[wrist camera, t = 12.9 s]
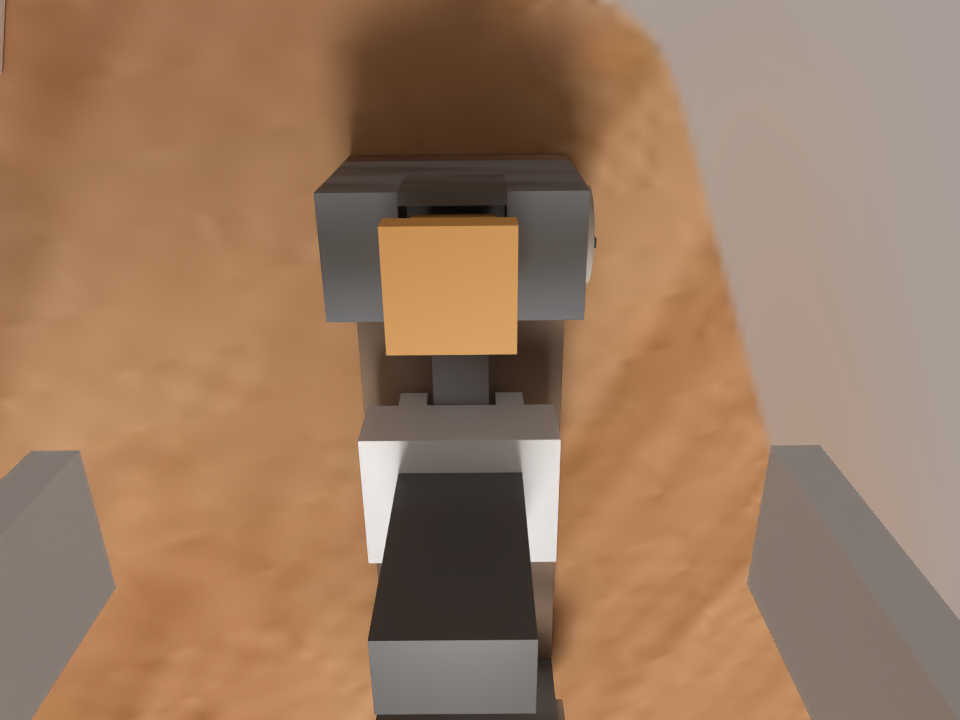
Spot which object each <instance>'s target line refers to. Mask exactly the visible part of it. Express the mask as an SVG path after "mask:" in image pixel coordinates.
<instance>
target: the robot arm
mask: <svg viewBox="0 0 960 720" xmlns="http://www.w3.org/2000/svg"><path fill="white" fill-rule="evenodd" d="M747 585H748V587H749V589H750V591H751V593H752V595H753V597H754V599H755V601H756V604H757V606H758V608H759V610H760V612H761V614H762V616H763V618H764V620H765V623H766V625H767V627H768V629H769V631H770V633H771V635H772V637H773V639H774V642H775V644H776V646H777V648H778V650H779V652H780V654H781V656H782V658H783V661H784V663H785V665H786V667H787V669H788V671H789V673H790V675H791V677H792V680H793V682H794V684H795V686H796V688H797V690H798V692H799V694H800V696H801V699H802V701H803V703H804V705H805V707H806V709H807V711H808V713H809V715H810V718H811V720H960V620H959V619H958V618H957V616H956V615H955V614H954V613H953V611H952V610H951V609H950V608H949V607H948V605H947V604H946V603H945V601H944V600H943V599H942V598H941V596H940V595H939V594H938V593H937V591H936V590H935V589H934V588H933V586H932V585H931V584H930V583H929V581H928V580H927V579H926V578H925V576H924V575H923V574H922V573H921V571H920V570H919V569H918V568H917V566H916V565H915V564H914V563H913V561H912V560H911V559H910V558H909V556H908V555H907V554H906V553H905V551H904V550H903V549H902V548H901V546H900V545H899V544H898V543H897V541H896V540H895V539H894V538H893V536H892V535H891V534H890V533H889V531H888V530H887V529H886V528H885V526H884V525H883V524H882V523H881V521H880V520H879V519H878V518H877V516H876V515H875V514H874V513H873V511H872V510H871V509H870V508H869V506H868V505H867V504H866V503H865V501H864V500H863V499H862V498H861V496H860V495H859V494H858V492H857V491H856V490H855V489H854V488H853V486H852V485H851V484H850V483H849V481H848V480H847V479H846V477H845V476H844V475H843V474H842V472H841V471H840V470H839V469H838V468H837V466H836V465H835V464H834V462H833V461H832V460H831V459H830V458H829V456H828V455H827V454H826V452H825V451H824V450H823V449H822V447H821V446H819V445H804V446H803V445H802V446H801V445H799V446H796V445H795V446H771V449H770V455H769V461H768V467H767V472H766V478H765V484H764V490H763V495H762V501H761V507H760V513H759V518H758V524H757V530H756V536H755V541H754V547H753V553H752V559H751V564H750V570H749V576H748V582H747ZM115 588H116V587H115V583H114V579H113V576H112V572H111V568H110V564H109V560H108V557H107V553H106V549H105V545H104V541H103V538H102V534H101V530H100V526H99V522H98V519H97V515H96V511H95V507H94V503H93V500H92V496H91V492H90V488H89V484H88V481H87V477H86V473H85V469H84V465H83V462H82V458H81V454H80V451H31V452H30V453H29V454H28V455H26V456H25V457H24V458H23V459H22V460H21V461H20V462H19V463H18V464H17V465H16V466H15V467H14V468H13V469H12V470H11V471H10V472H9V473H8V474H7V475H6V476H5V477H4V478H2V479H1V480H0V720H31V719H32V717H33V716H34V714H35V712H36V711H37V709H38V708H39V706H40V705H41V703H42V702H43V700H44V698H45V697H46V695H47V694H48V692H49V691H50V689H51V688H52V686H53V684H54V683H55V681H56V680H57V678H58V677H59V675H60V674H61V672H62V670H63V669H64V667H65V666H66V664H67V663H68V661H69V660H70V658H71V656H72V655H73V653H74V652H75V650H76V649H77V647H78V646H79V644H80V642H81V641H82V639H83V638H84V636H85V635H86V633H87V632H88V630H89V628H90V627H91V625H92V624H93V622H94V621H95V619H96V618H97V616H98V615H99V613H100V611H101V610H102V608H103V607H104V605H105V604H106V602H107V601H108V599H109V597H110V596H111V594H112V593H113V591H114V590H115Z"/></svg>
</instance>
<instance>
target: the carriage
mask: <svg viewBox="0 0 960 720" xmlns="http://www.w3.org/2000/svg"><path fill="white" fill-rule="evenodd" d="M358 447H359V459H360V470H361V481H362V493H363V504H364V515H365V527H366V538H367V550H368V561H369V563H382V565H381V571H380V576H379V582H378V587H377V593H376V598H375V604H374V609H373V615H372V620H371V626H370V632H369V637H368V649H369V660H370V670H371V681H372V692H373V702H374V713H375V715H383V714H519V713H536V694H537V659H538V634H537V623H536V613H535V602H534V592H533V581H532V570H531V562H556V549H557V523H558V498H559V473H560V447H561V438H560V433H559V428H558V423H557V417H556V412H555V407H554V404H534V405H524V402H523V394H522V392H495V405H428V393H401V396H400V401H399V405H398V406H368V409H367V412H366V415H365V419H364V422H363V426H362V429H361V433H360V436H359V440H358Z"/></svg>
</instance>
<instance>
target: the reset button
mask: <svg viewBox="0 0 960 720" xmlns="http://www.w3.org/2000/svg"><path fill="white" fill-rule="evenodd" d="M378 238H379V253H380V268H381V283H382V298H383V313H384V328H385V344H386V355H492V354H517V306H518V221H517V217H495V214H424V215H411V217H410V218H382V219H381V221H380V223H379V225H378Z"/></svg>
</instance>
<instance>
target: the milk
mask: <svg viewBox="0 0 960 720" xmlns="http://www.w3.org/2000/svg"><path fill="white" fill-rule="evenodd" d="M4 22H5V0H0V74H2V68H3V45H4Z"/></svg>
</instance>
